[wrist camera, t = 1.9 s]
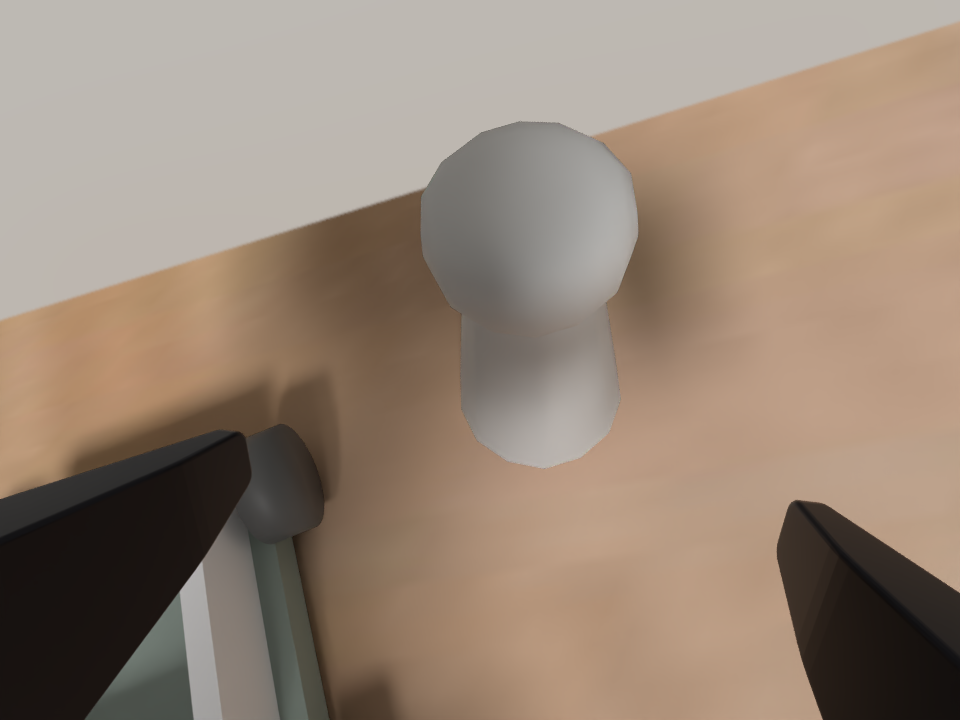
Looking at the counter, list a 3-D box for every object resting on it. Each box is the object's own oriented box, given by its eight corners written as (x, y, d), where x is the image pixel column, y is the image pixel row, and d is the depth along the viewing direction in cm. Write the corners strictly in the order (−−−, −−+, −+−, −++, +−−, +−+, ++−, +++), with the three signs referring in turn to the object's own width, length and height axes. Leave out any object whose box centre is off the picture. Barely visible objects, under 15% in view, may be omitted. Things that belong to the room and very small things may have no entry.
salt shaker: (582, 504, 19) (627, 383, 8) (447, 446, 21) (308, 270, 9) (632, 369, 21) (730, 101, 9) (503, 325, 23) (449, 47, 11)
